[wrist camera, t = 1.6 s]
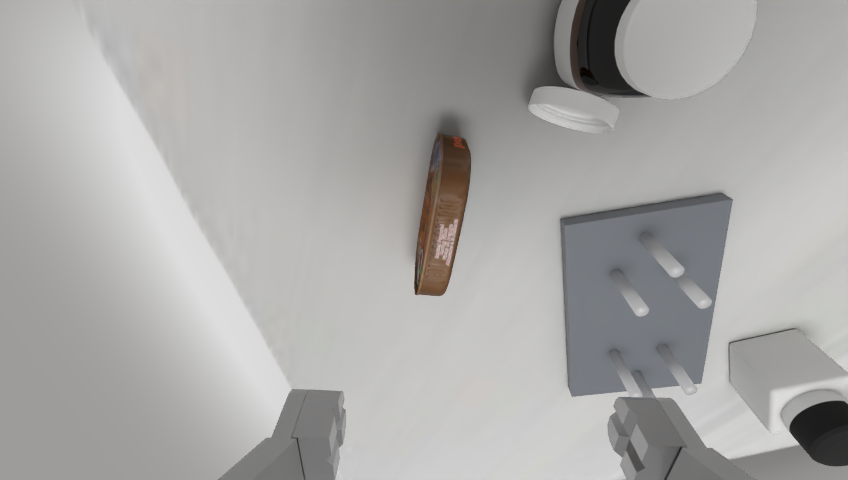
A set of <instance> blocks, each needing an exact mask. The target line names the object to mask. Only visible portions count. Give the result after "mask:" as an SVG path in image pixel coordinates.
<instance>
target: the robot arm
mask: <svg viewBox="0 0 848 480" xmlns="http://www.w3.org/2000/svg"><path fill="white" fill-rule="evenodd" d="M343 404H344V393H343V391H328V390H304V389H292V390H291V392H290V393H289V394H288V397H287V399H286V402H285V405H284V407H283V410H282V412H281V415H280V417H279V420H278V422H277V425H276V428H275V430H274V433H273V435H272V437H271V438H266V439H264V440H263V441H262V442H261V443H260V444H259V445H257V446H256V447H255V448H254V449H253V450H252V451H251V452H249V453H248V454H247V455H246V456H245V457H244V458H242V459H241V460H240V461H239V462H238V463H237V464H235V465H234V466H233V467H232V468H231V469H230V470H228V471H227V472H226V473H225V474H224V475H223V476H222V477H220V478H219V479H218V480H335V478H336V474H337V469H338V465H339V460H340V455H339V447H340V446H341V445H342V444H343V441H344V436H345V428H346V411H345V409H344V408H343ZM614 408H615V410H616V412H615V413H614V414H612V415H611V416H610V418H609V422H608V435H609V439H610V443H611V445H612V447H613V450H614V451H615V452H616V453H618V454H619V455H620V456H621V457H622V461H621V464H620V465H621V468H622V470H623V472H624V474H625V476H626V479H627V480H756V479H755V478H753V477H752V476H751V475H749V474H748V473H746V472H745V471H744V470H742V469H741V468H739V467H738V466H737V465H735V464H734V463H732V462H731V461H729V460H728V459H727V458H725V457H724V456H722V455H721V454H720V453H718V452H717V451H715V450H714V449H713V448H707V447H706V446H705V445H704V443H703V442H702V440H701V439H700V437H699V436H698V434H697V433H696V431H695V430H694V428H693V427H692V425H691V424H690V423H689V421H688V420H687V418H686V417H685V415H684V414H683V412H682V411H681V409H680V408H679V406H678V405H677V403H676V402H675V401H674V400H673V399H671V398H651V397H618V398H617V399H616V400H615V403H614Z"/></svg>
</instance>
